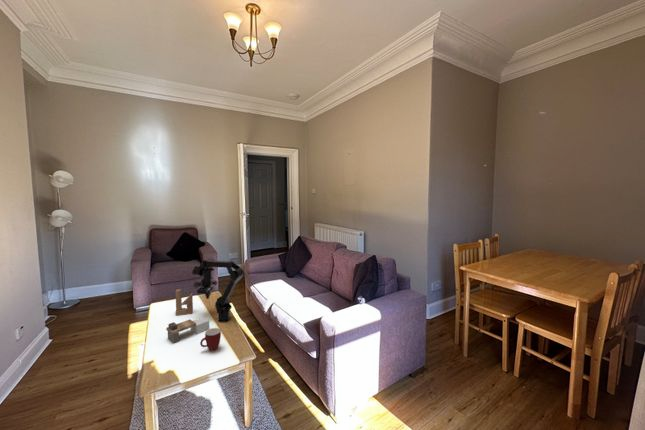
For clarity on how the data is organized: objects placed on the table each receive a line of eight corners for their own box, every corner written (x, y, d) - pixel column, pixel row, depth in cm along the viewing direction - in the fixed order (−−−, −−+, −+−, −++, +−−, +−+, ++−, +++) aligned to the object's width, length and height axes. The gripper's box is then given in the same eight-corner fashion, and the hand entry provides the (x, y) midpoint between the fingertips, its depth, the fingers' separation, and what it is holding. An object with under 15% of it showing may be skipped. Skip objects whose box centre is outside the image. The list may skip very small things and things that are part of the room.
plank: (190, 321, 169) (189, 315, 169) (196, 325, 164) (196, 319, 164) (166, 330, 159) (166, 323, 158) (172, 334, 154) (172, 327, 153)
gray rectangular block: (203, 325, 176) (202, 316, 176) (209, 328, 171) (209, 320, 171) (167, 338, 160) (167, 329, 159) (173, 343, 155) (173, 334, 154)
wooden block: (192, 313, 192) (191, 289, 191) (175, 315, 189) (174, 291, 187) (193, 311, 196) (192, 287, 194) (176, 313, 192) (175, 289, 191)
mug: (202, 356, 142) (202, 338, 142) (199, 349, 149) (198, 332, 148) (223, 349, 149) (222, 332, 148) (218, 343, 155) (218, 326, 154)
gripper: (202, 272, 195) (202, 293, 196) (188, 281, 176) (189, 304, 178) (217, 272, 195) (217, 293, 196) (205, 281, 176) (206, 304, 178)
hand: (207, 298), depth 187 cm, fingers closed
